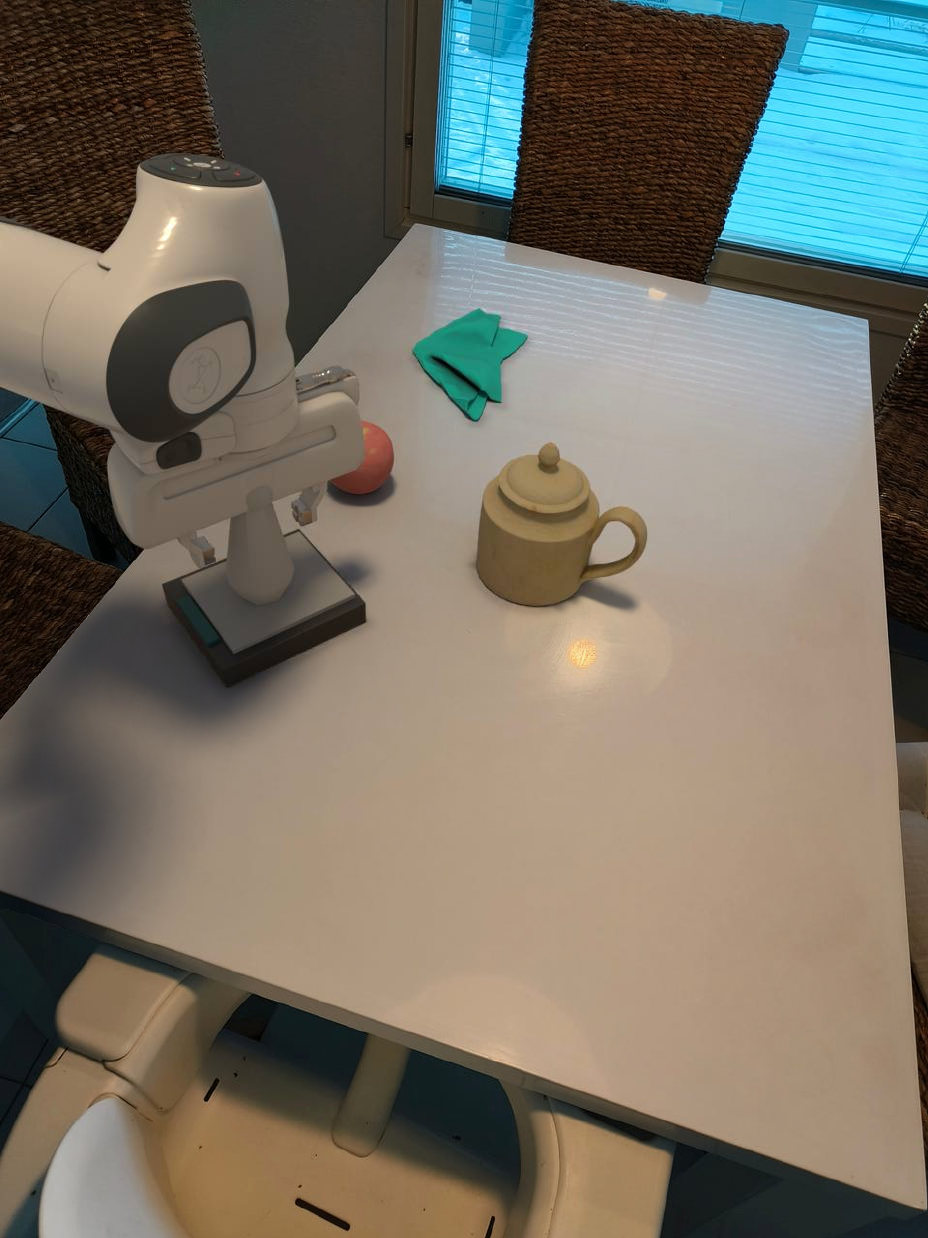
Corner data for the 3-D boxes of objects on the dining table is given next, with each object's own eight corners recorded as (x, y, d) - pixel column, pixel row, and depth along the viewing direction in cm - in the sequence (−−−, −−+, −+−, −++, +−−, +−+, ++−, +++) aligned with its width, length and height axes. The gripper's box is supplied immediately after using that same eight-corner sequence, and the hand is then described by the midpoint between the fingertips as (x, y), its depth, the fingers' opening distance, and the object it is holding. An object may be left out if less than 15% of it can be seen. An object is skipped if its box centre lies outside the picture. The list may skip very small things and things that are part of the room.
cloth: (443, 304, 120) (443, 289, 118) (537, 323, 118) (539, 308, 117) (381, 400, 103) (381, 384, 101) (491, 425, 101) (492, 408, 99)
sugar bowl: (617, 537, 89) (651, 415, 78) (628, 614, 81) (667, 491, 70) (475, 526, 88) (489, 402, 77) (473, 603, 81) (488, 477, 70)
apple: (383, 514, 89) (383, 451, 83) (315, 501, 89) (310, 438, 83) (400, 472, 94) (402, 410, 88) (336, 460, 94) (333, 397, 88)
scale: (226, 688, 72) (221, 665, 70) (166, 603, 78) (160, 579, 76) (366, 621, 78) (365, 598, 76) (300, 547, 84) (298, 523, 82)
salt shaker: (267, 622, 73) (250, 505, 64) (215, 595, 75) (191, 477, 65) (308, 582, 77) (298, 466, 67) (258, 557, 79) (242, 441, 69)
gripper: (336, 341, 68) (342, 479, 78) (80, 417, 59) (124, 563, 69) (379, 378, 65) (380, 517, 75) (116, 465, 55) (157, 610, 66)
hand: (255, 540), depth 72 cm, fingers open, 8 cm apart
